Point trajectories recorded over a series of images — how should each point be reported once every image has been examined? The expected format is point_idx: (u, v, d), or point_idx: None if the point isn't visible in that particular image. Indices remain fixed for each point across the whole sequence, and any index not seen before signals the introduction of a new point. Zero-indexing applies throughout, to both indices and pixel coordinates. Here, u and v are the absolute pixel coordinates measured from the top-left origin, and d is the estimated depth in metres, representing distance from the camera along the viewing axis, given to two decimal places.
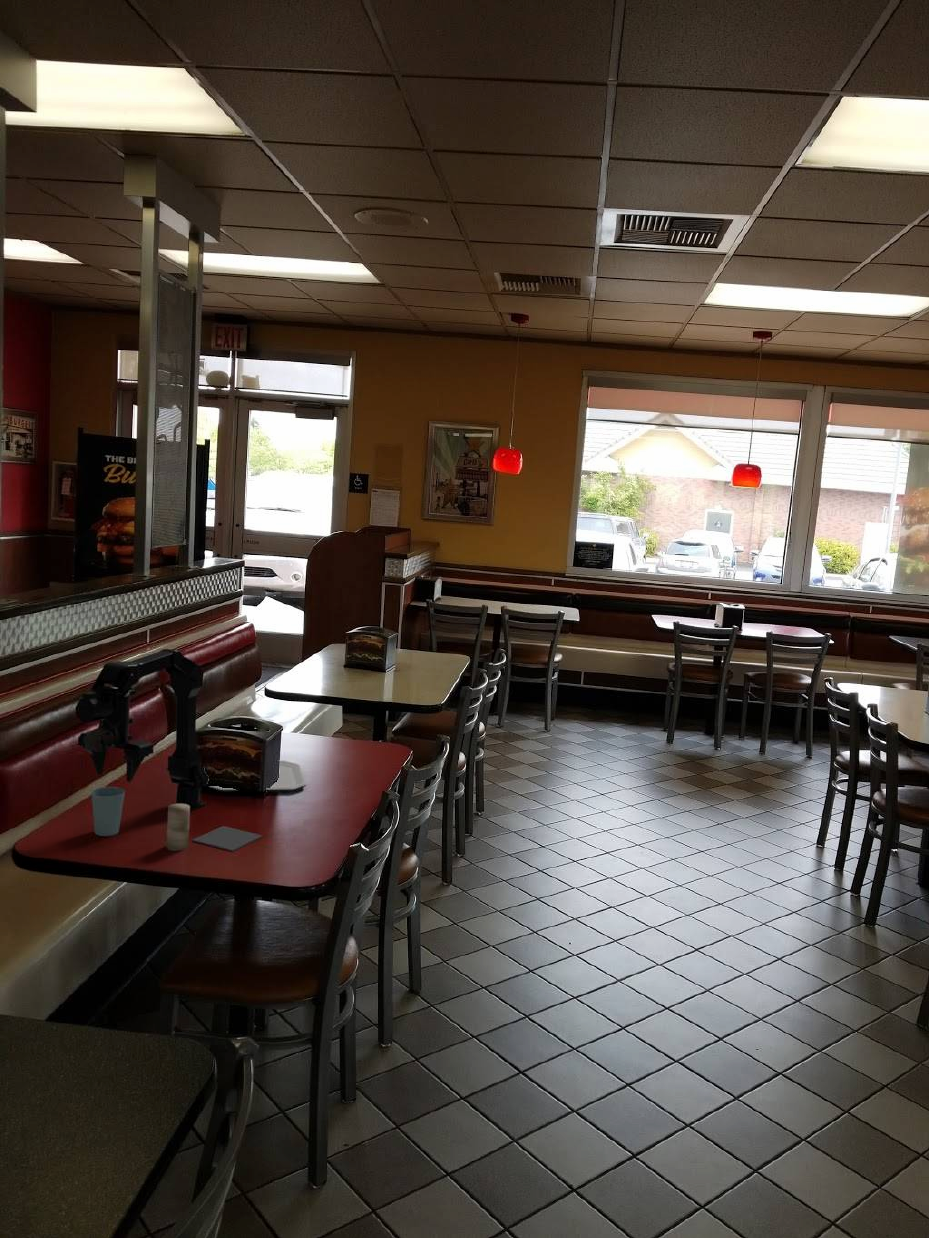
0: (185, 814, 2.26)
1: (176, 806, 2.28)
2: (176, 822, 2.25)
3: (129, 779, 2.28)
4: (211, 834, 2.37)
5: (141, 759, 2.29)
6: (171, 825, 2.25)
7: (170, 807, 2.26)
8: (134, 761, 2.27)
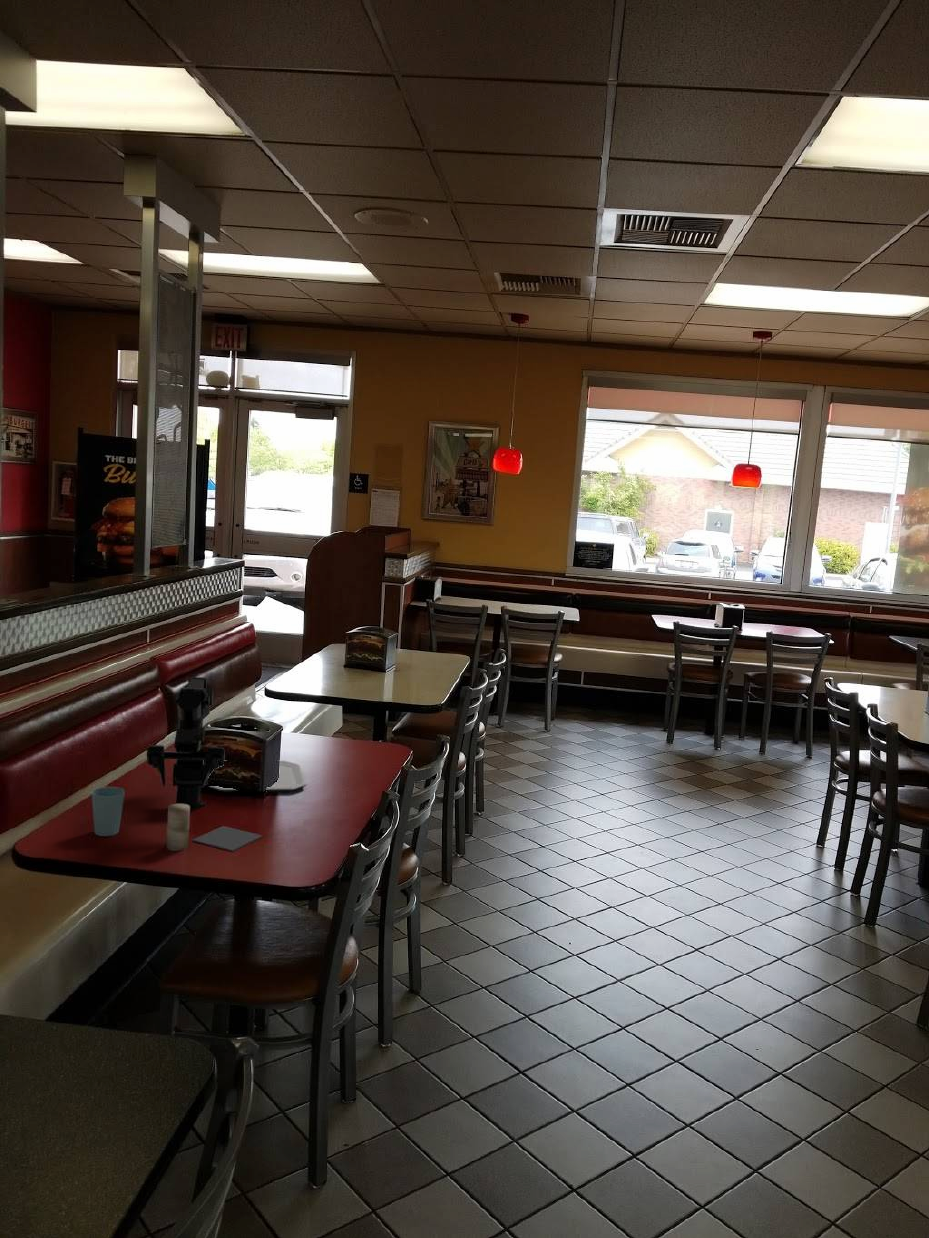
0: (185, 814, 2.26)
1: (176, 806, 2.28)
2: (176, 822, 2.25)
3: (203, 783, 2.36)
4: (211, 834, 2.37)
5: (211, 770, 2.41)
6: (171, 825, 2.25)
7: (170, 807, 2.26)
8: None
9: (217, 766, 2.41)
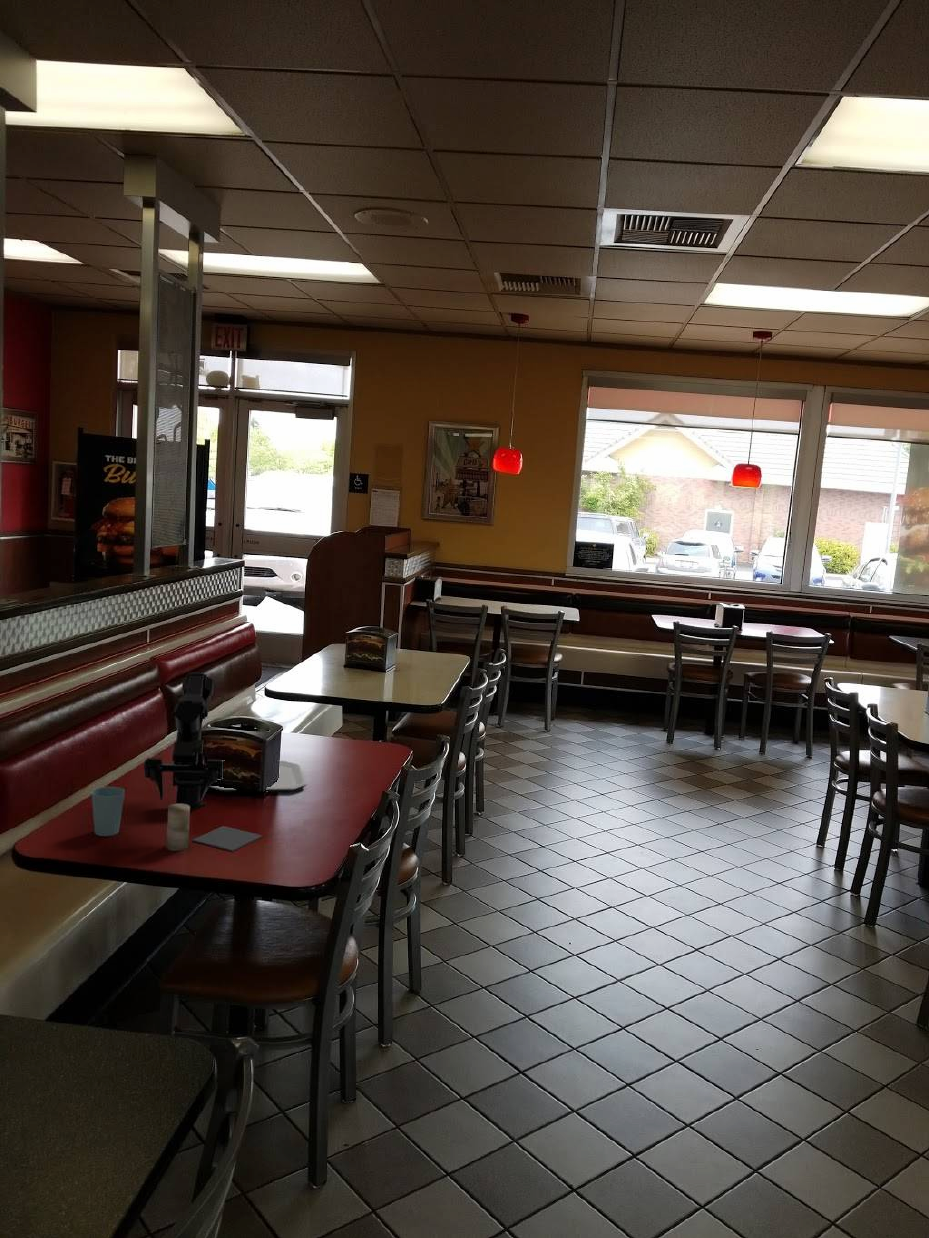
0: (185, 814, 2.26)
1: (176, 806, 2.28)
2: (176, 822, 2.25)
3: (202, 796, 2.32)
4: (211, 834, 2.37)
5: (210, 784, 2.37)
6: (171, 825, 2.25)
7: (170, 807, 2.26)
8: None
9: (216, 779, 2.38)
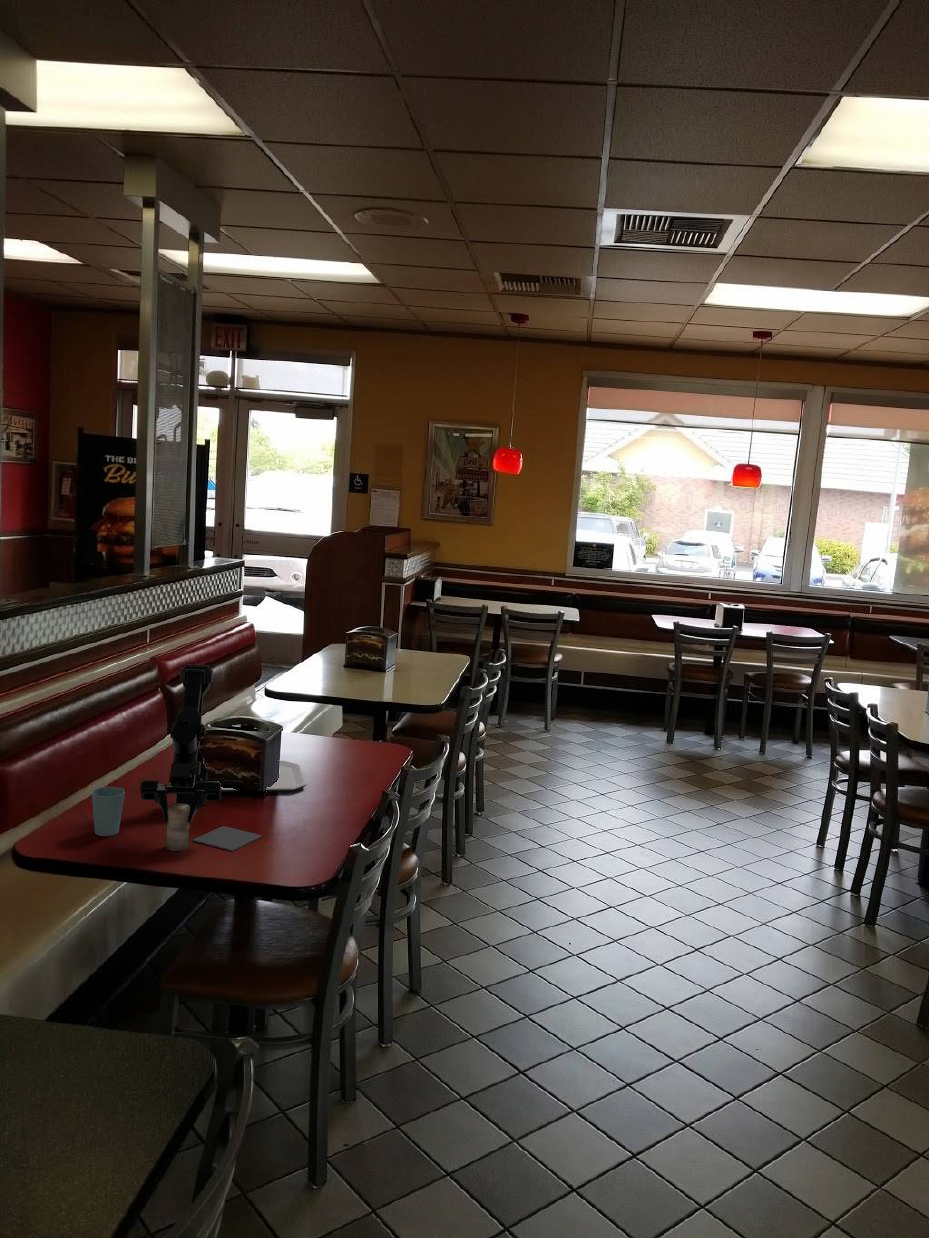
0: (185, 814, 2.26)
1: (176, 806, 2.28)
2: (176, 822, 2.25)
3: (191, 819, 2.27)
4: (211, 834, 2.37)
5: (199, 805, 2.32)
6: (171, 825, 2.25)
7: (170, 807, 2.26)
8: None
9: (205, 801, 2.32)
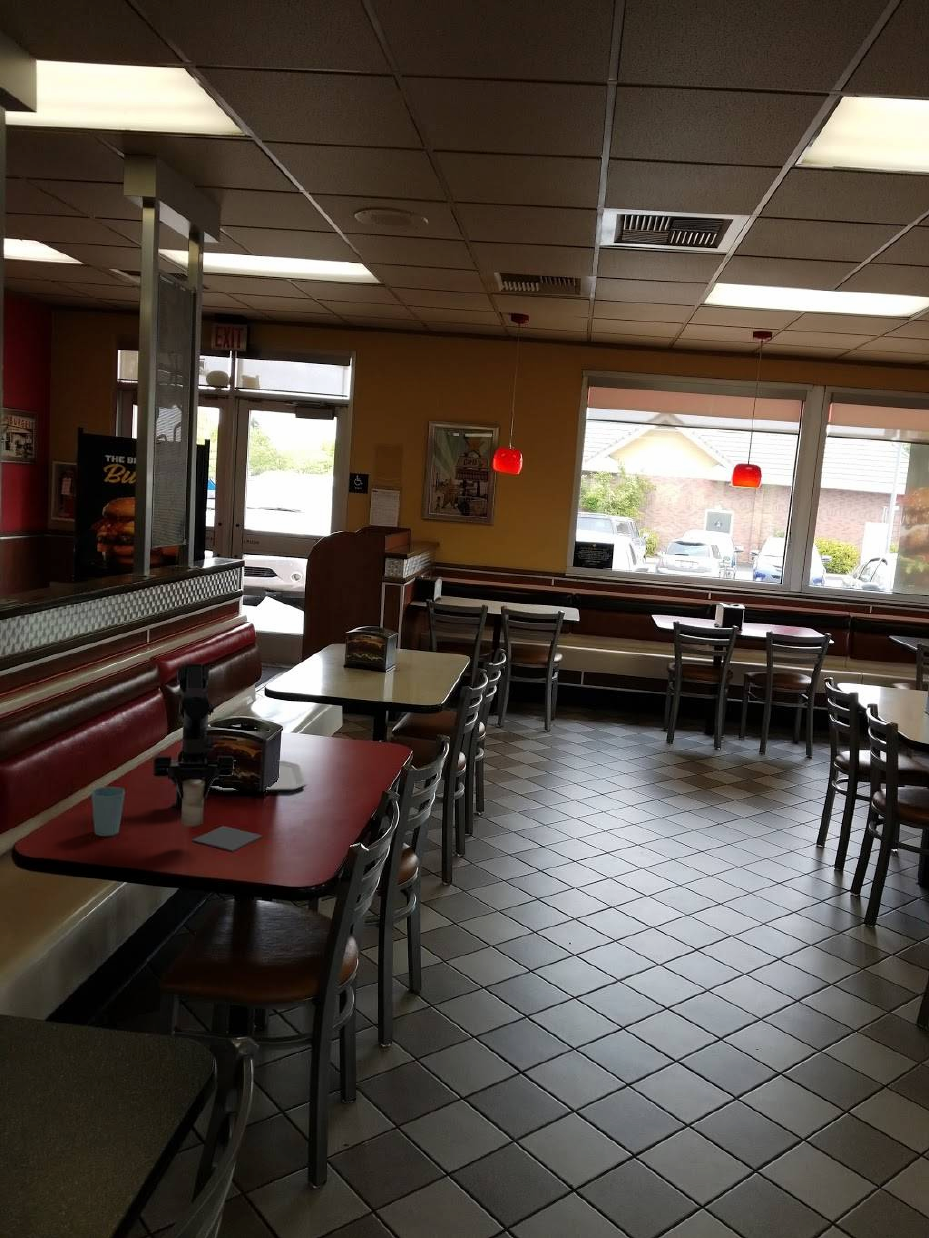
0: (200, 789, 2.27)
1: (191, 781, 2.28)
2: (193, 797, 2.26)
3: (206, 794, 2.28)
4: (211, 834, 2.37)
5: (212, 780, 2.33)
6: (187, 801, 2.26)
7: (185, 783, 2.27)
8: None
9: (218, 776, 2.34)
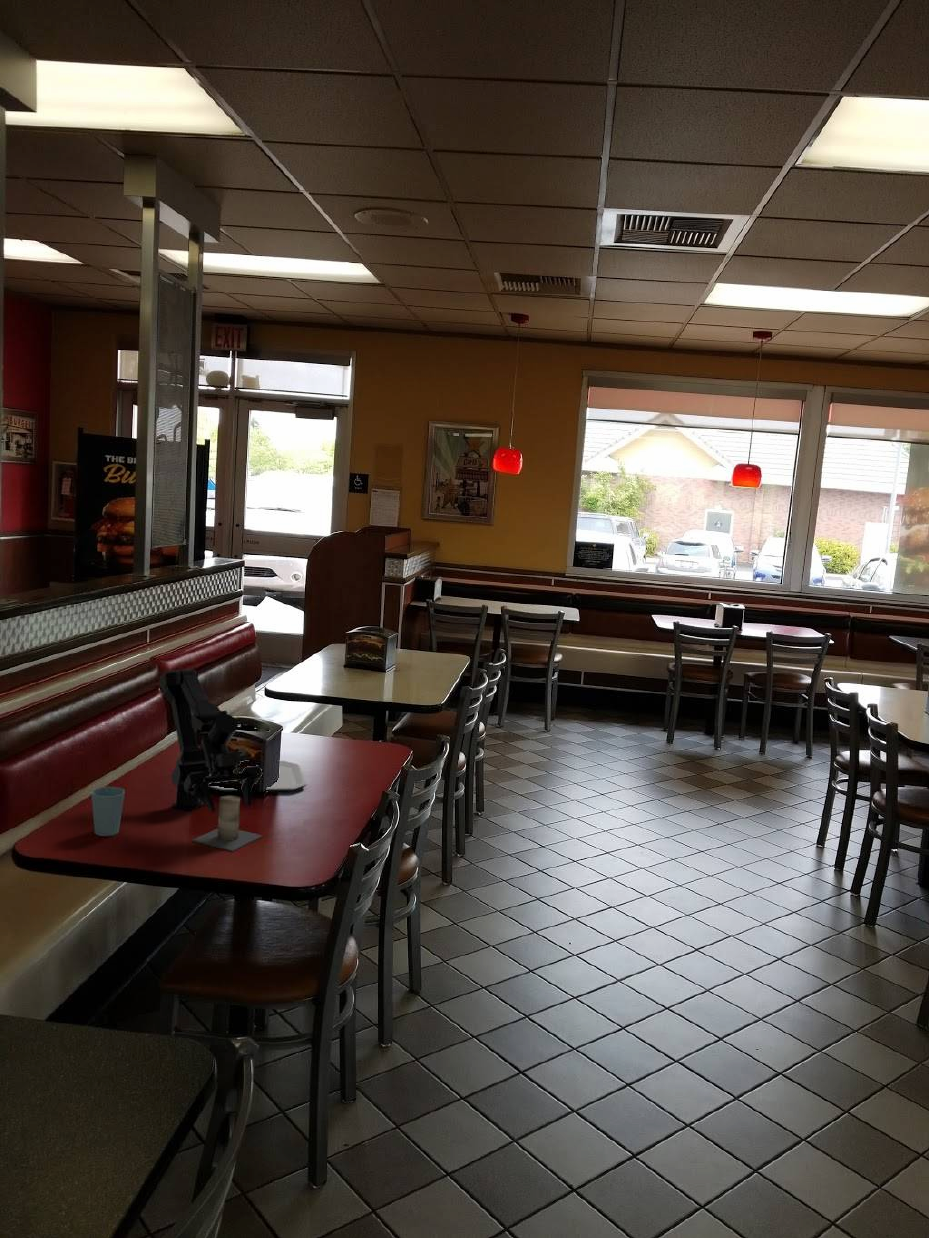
0: (238, 804, 2.34)
1: (226, 798, 2.35)
2: (232, 813, 2.33)
3: None
4: (211, 834, 2.37)
5: None
6: (226, 817, 2.33)
7: (223, 800, 2.33)
8: None
9: (252, 785, 2.42)
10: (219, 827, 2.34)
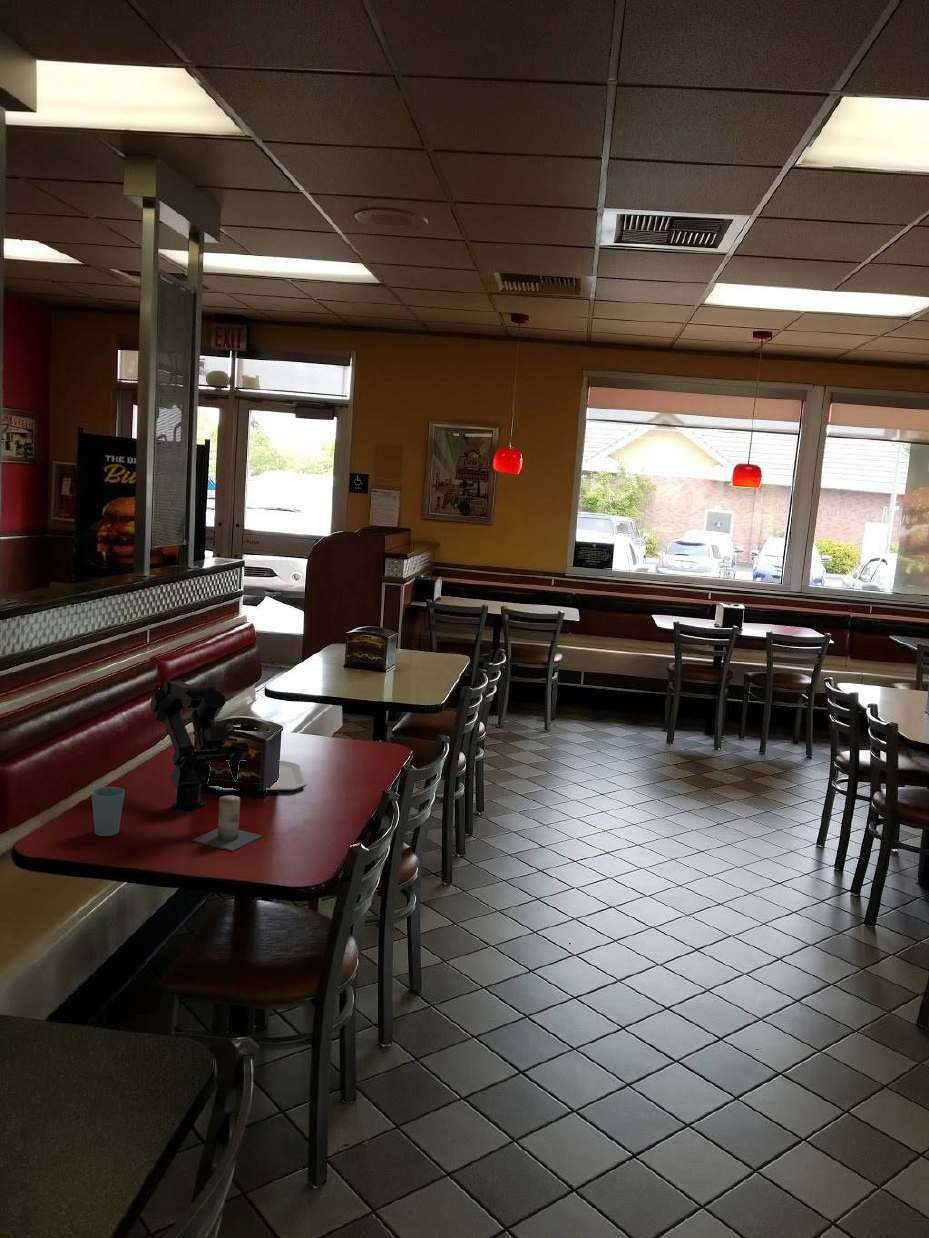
0: (238, 804, 2.34)
1: (226, 798, 2.35)
2: (232, 813, 2.33)
3: None
4: (211, 834, 2.37)
5: None
6: (226, 817, 2.33)
7: (223, 800, 2.33)
8: None
9: (240, 760, 2.48)
10: (219, 827, 2.34)
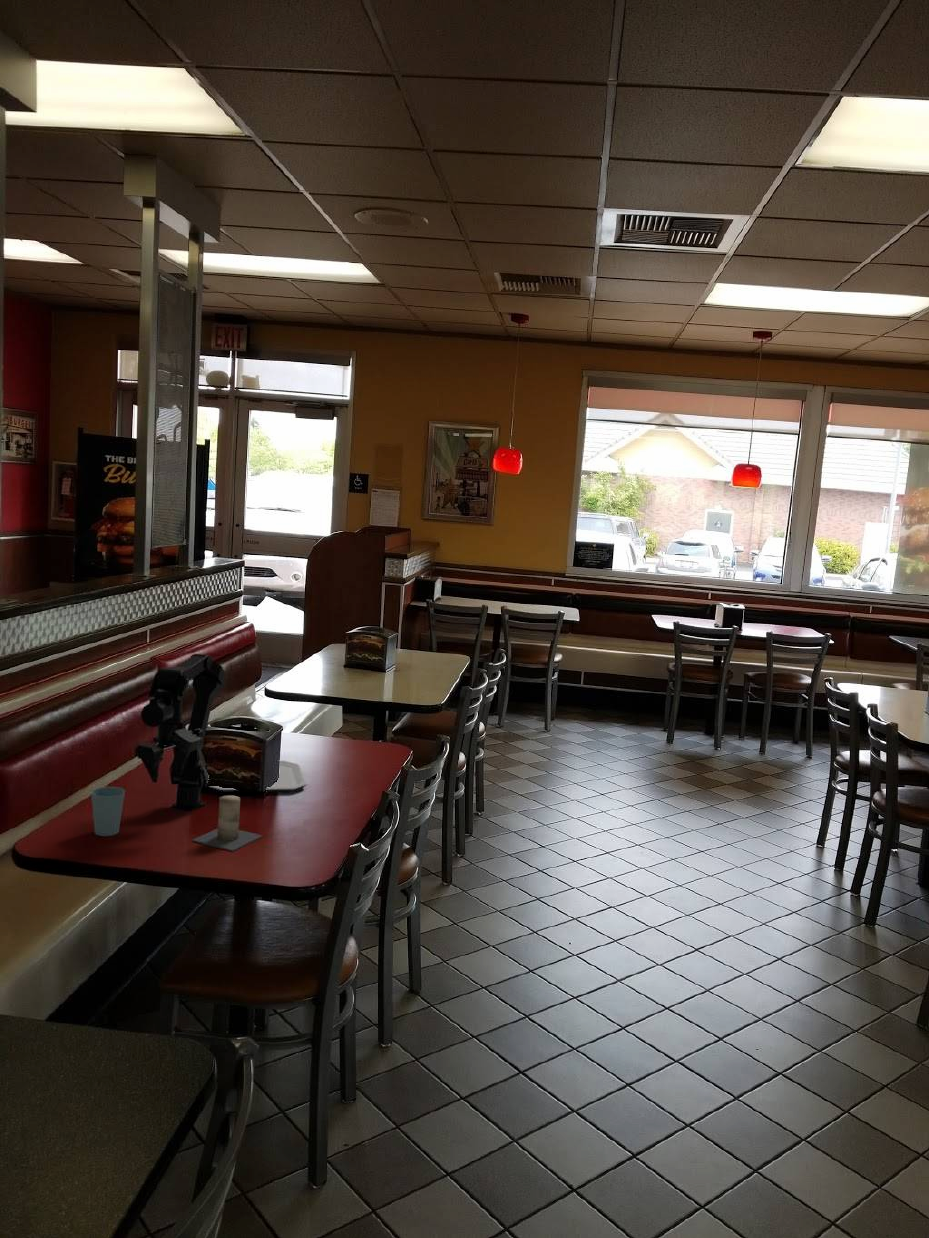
0: (238, 804, 2.34)
1: (226, 798, 2.35)
2: (232, 813, 2.33)
3: None
4: (211, 834, 2.37)
5: None
6: (226, 817, 2.33)
7: (223, 800, 2.33)
8: None
9: None
10: (219, 827, 2.34)
